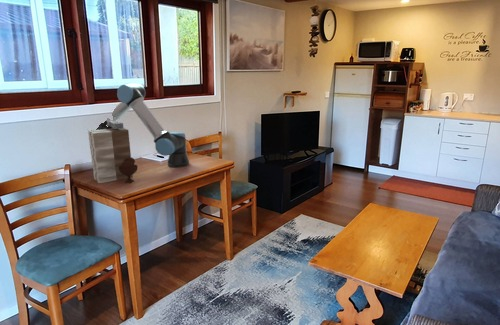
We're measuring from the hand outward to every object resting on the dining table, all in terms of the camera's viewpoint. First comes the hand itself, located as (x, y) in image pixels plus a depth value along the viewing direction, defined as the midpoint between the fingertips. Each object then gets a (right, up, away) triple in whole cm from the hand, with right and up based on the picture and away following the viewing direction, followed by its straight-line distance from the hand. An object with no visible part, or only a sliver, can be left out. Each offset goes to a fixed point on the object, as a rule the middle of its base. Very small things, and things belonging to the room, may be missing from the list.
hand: (112, 119), depth 214 cm
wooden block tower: (+1, -36, +1) cm, 37 cm away
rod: (+2, -5, -1) cm, 5 cm away
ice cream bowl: (+14, -39, -7) cm, 42 cm away
